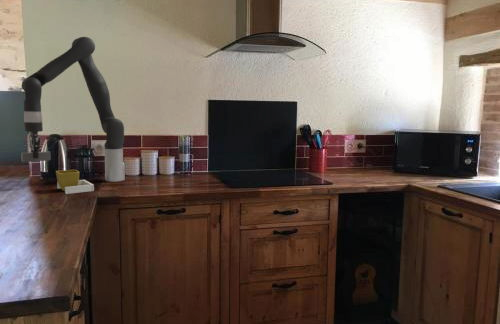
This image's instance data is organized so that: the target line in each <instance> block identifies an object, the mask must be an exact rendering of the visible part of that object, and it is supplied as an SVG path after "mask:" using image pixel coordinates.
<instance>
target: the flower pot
mask: <svg viewBox="0 0 500 324" xmlns="http://www.w3.org/2000/svg"><path fill="white" fill-rule="evenodd" d="M55 175H56V180H57V181H56V182H58V184H59V186H60V189H61V190H62V191H63V192H65V187H71V186H78V182H79V180H80V171H79V170H77V169H67V170H55Z"/></svg>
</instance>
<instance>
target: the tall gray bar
mask: <svg viewBox="0 0 500 324" xmlns="http://www.w3.org/2000/svg"><path fill="white" fill-rule="evenodd" d="M20 153H21V154H20V156H21V162H22V163H29V162H43V161H44V162H45V161H46V162H47V161H51V160H52V158H51V156H52V155H51V151H38V153H39V158H33V152H29V151H28V152H20Z"/></svg>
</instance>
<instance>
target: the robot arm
mask: <svg viewBox="0 0 500 324" xmlns="http://www.w3.org/2000/svg"><path fill="white" fill-rule="evenodd" d="M95 49H96V44H95V42H94V40H93V39H92V38H91V37H88V36H87V37H86V36H81V37H78V38H75V39H74V40H73V41H72V43H71V47H70V48H69V49H68V50H66V51H65V52H64V53H62V54H61V55H59V56H57V57H56V58H54V59H52V60H50V61H49V62H47V64H44V65H43V66H42V67H40V68H39V70H37V71H35V72H34V73H33V74H31V75H29V76H27V77H26V78H24V79H23V81H22V82H21V89H22V90H23V91H24V94H25V95H24V97H25V99H24V101H23V122H24V123H23V124H24V125H23V126H24V127H23V128H24V131H25V132H27V133H28V132H29V135H28V142H29V148H30V150H31V152H33V158H39V153H38V152H39V150H40V149H41V147H40V146H41V144H40V143H41V138H40V137H41V136H40V135H39V132H40V133H41V132H43V115H42V103H41V101H42V100H41V99H42V92H43V91H42V89H43V86H44V85H47V84H48V83H50V82H52V81H53V80H55V79H56V78H57V77H58V76H60V75H61V74H63V73H64V72H65V71H66V70H68V69H69V68H70V67H72V66H73V65H74V64H76V63H77V62H78V65H79V67H80V69H81V72H82V75H83V79H84V81H85V83H86V86H87V89H88V90H87V91H88V92H89V94H90V97H91V99H92V103H93V105H94V106H95V109H96V111H97V113H98V117H99V121H100V124H101V125H100V126H101V129H102V132H104V134H105V135H106V140H105V143H104V144H103V145H104V174H105V175H104V179H105V180H104V181H106V182H114V183H115V182H121V181H125V180H126V179H125V178H126V176H125V172H126V171H125V168H126V167H125V162H124V147H123V145H124V144H125V125H124V123H123V122H122V120H120V119H118V118H116V117H115V115H114V113H113V110H112V106H111V97H110V91H109V88H108V85H107V82H106V80H105V78H104V76H103V75H102V73H101V72H100V70H99V69H98V68H97V66H96V63H95V61H94V58H93V53H94V52H95Z"/></svg>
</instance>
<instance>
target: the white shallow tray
mask: <svg viewBox="0 0 500 324" xmlns="http://www.w3.org/2000/svg"><path fill="white" fill-rule="evenodd" d="M56 182H57V183H56V188H57V189H58V190H59V189H61V188H60V186H59V184H58V181H56ZM94 185H95V184H93V183H91V182H89V181H88V180H86V179H79V182H78V186H71V187H65V191H64V194H66V195H69V194H76V193H77V194H79V193H87V192H88V193H89V192H94V191H95V186H94Z"/></svg>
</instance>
